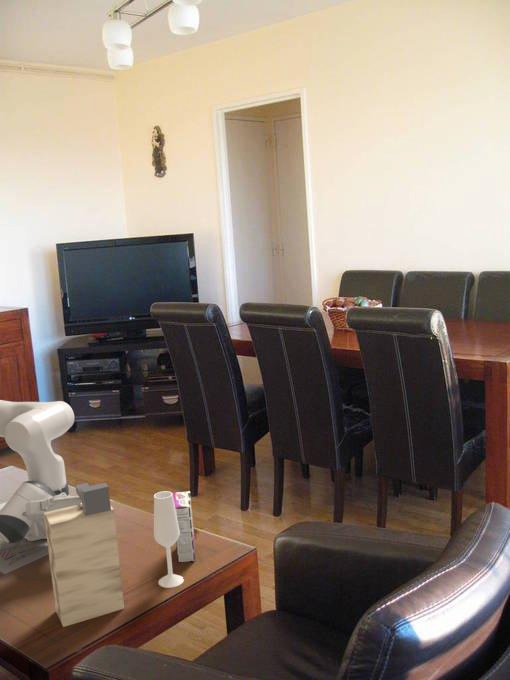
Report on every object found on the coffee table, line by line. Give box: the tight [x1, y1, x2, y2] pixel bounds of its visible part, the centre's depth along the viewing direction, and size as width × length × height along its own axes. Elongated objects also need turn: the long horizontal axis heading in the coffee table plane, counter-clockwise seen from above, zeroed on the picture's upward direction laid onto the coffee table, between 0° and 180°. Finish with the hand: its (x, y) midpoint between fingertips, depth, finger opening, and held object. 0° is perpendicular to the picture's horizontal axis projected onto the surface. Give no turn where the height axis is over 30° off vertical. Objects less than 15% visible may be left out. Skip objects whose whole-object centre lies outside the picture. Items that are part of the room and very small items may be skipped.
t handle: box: [75, 482, 112, 516], centre depth 182 cm, size 16×6×6 cm, turn 27°
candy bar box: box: [173, 490, 196, 563], centre depth 207 cm, size 11×5×16 cm, turn 5°
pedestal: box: [44, 502, 125, 628], centre depth 180 cm, size 8×15×27 cm, turn 117°
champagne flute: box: [153, 490, 185, 589], centre depth 192 cm, size 7×7×24 cm
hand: (68, 499), depth 197 cm, fingers open, 8 cm apart
